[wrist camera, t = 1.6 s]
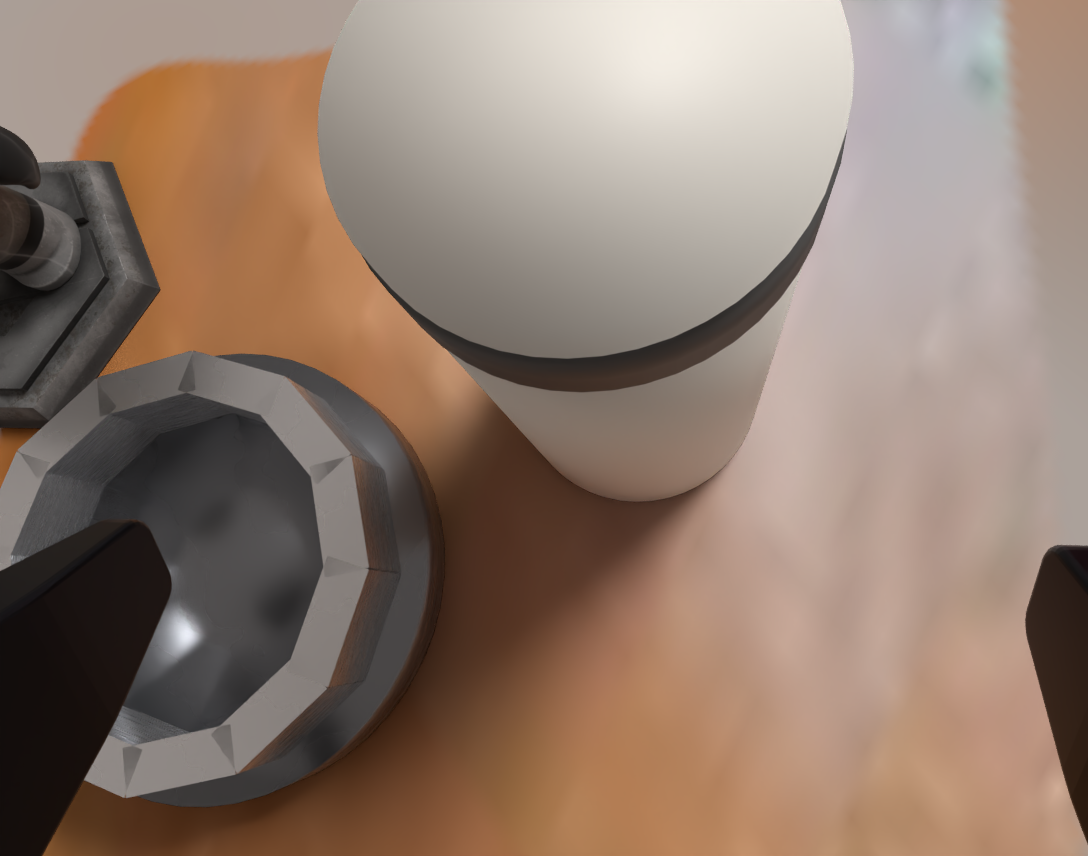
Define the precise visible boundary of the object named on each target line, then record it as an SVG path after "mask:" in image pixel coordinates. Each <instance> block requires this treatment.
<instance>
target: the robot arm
mask: <svg viewBox="0 0 1088 856" xmlns="http://www.w3.org/2000/svg"><path fill="white" fill-rule="evenodd" d="M171 590H172V579H171V575H170V572H169V569H168V567H167V565H166V563H165V561H164V558H163V556H162V554H161V552H160V550H159V547H158V545H157V543H156V541H155V539H154V536H153V534H152V532H151V530H150V528H149V527H148V526H147V525H146V524H145V523H144V522H143V521H139V520H136V519H105V520H101V521H99V522H97V523H95V524H93V525H91V526H89V527H87V528H85V529H83V530H81V531H79V532H77V533H75V534H73V535H71V536H69V537H67V538H65V539H63V540H61V541H59V542H57V543H55V544H53V545H51V546H49V547H47V548H45V549H43V550H41V551H39V552H37V553H35V554H33V555H31V556H29V557H27V558H25V559H23V560H21V561H19V562H17V563H15V564H13V565H11V566H9V567H7V568H5V569H3V570H1V571H0V856H42V855H43V853H44V852H45V850H46V848H47V846H48V844H49V843H50V841H51V839H52V837H53V835H54V834H55V832H56V830H57V828H58V826H59V824H60V823H61V821H62V819H63V817H64V815H65V814H66V812H67V810H68V808H69V806H70V804H71V803H72V801H73V799H74V797H75V795H76V794H77V792H78V790H79V788H80V786H81V785H82V783H83V781H84V779H85V777H86V775H87V774H88V772H89V770H90V768H91V766H92V765H93V763H94V761H95V759H96V757H97V755H98V754H99V752H100V750H101V748H102V746H103V745H104V743H105V741H106V739H107V737H108V735H109V733H110V731H111V729H112V727H113V725H114V724H115V722H116V719H117V717H118V715H119V713H120V711H121V709H122V706H123V704H124V702H125V700H126V697H127V695H128V693H129V691H130V688H131V686H132V684H133V681H134V679H135V677H136V674H137V672H138V670H139V667H140V665H141V663H142V661H143V658H144V656H145V654H146V651H147V649H148V647H149V644H150V642H151V640H152V637H153V635H154V633H155V631H156V628H157V626H158V624H159V621H160V619H161V617H162V614H163V612H164V610H165V607H166V605H167V603H168V601H169V598H170V595H171ZM1025 626H1026V635H1027V640H1028V644H1029V647H1030V651H1031V655H1032V659H1033V662H1034V666H1035V670H1036V674H1037V677H1038V681H1039V685H1040V689H1041V692H1042V696H1043V700H1044V704H1045V707H1046V711H1047V715H1048V719H1049V722H1050V726H1051V730H1052V734H1053V737H1054V741H1055V745H1056V749H1057V752H1058V756H1059V760H1060V764H1061V767H1062V771H1063V774H1064V778H1065V781H1066V785H1067V788H1068V791H1069V795H1070V798H1071V801H1072V804H1073V806H1074V809H1075V812H1076V815H1077V817H1078V820H1079V823H1080V826H1081V828H1082V831H1083V833H1084V836H1085V838H1086V841H1087V843H1088V546H1080V545H1056V546H1053V547H1051V548H1050V549H1048V551H1047V552H1046V553H1045V555H1044V557H1043V559H1042V562H1041V566H1040V569H1039V572H1038V575H1037V579H1036V582H1035V585H1034V588H1033V591H1032V595H1031V598H1030V601H1029V604H1028V608H1027V612H1026V619H1025Z"/></svg>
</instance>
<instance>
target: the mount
mask: <svg viewBox="0 0 1088 856" xmlns="http://www.w3.org/2000/svg"><path fill="white" fill-rule="evenodd" d="M18 451H19V452H16V454H15V457H14V459H13V461H12V463H11V466H10V468H9V470H8V473H7V475H6V477H5V480H4V482H3V484H2V487H1V489H0V571H1V570H3V569H5V568H7V567H9V566H11V565H13V564H15V563H17V562H19V561H21V560H23V559H25V558H27V557H29V556H31V555H33V554H35V553H37V552H39V551H41V550H43V549H45V548H47V547H49V546H51V545H53V544H55V543H57V542H59V541H61V540H63V539H65V538H67V537H69V536H71V535H73V534H75V533H77V532H79V531H81V530H83V529H85V528H87V527H89V526H91V525H93V524H95V523H97V522H99V521H101V520H105V519H136V520H139V521H143V522H144V523H145V524H146V525H147V526H148V527H149V528H150V530H151V532H152V534H153V536H154V539H155V541H156V543H157V545H158V547H159V550H160V552H161V554H162V556H163V558H164V561H165V563H166V565H167V567H168V569H169V572H170V575H171V579H172V590H171V595H170V598H169V601H168V603H167V605H166V607H165V610H164V612H163V614H162V617H161V619H160V621H159V624H158V626H157V628H156V631H155V633H154V635H153V637H152V640H151V642H150V644H149V647H148V649H147V651H146V654H145V656H144V658H143V661H142V663H141V665H140V667H139V670H138V672H137V674H136V677H135V679H134V681H133V684H132V686H131V688H130V691H129V693H128V695H127V697H126V700H125V702H124V704H123V706H122V709H121V711H120V713H119V715H118V717H117V719H116V722H115V724H114V725H113V727H112V729H111V731H110V733H109V735H108V737H107V739H106V741H105V743H104V745H103V746H102V748H101V750H100V752H99V754H98V755H97V757H96V759H95V761H94V763H93V765H92V766H91V768H90V770H89V772H88V774H87V775H86V777H85V779H84V780H85V781H87V782H90V783H92V784H94V785H96V786H99V787H101V788H103V789H105V790H107V791H110V792H112V793H114V794H116V795H119V796H121V797H123V798H129V797H134V796H138V797H141V798H144V799H146V800H149V801H152V802H158V803H163V804H169V805H174V806H180V807H213V806H220V805H228V804H235V803H240V802H243V801H247V800H250V799H253V798H257V797H260V796H264V795H267V794H269V793H271V792H274V791H276V790H279V789H281V788H283V787H286V786H288V785H290V784H293V783H295V782H298V781H300V780H302V779H304V778H306V777H309V776H311V775H313V774H315V773H317V772H320V771H322V770H324V769H325V768H327V767H328V766H330V765H332V764H333V763H335V762H336V761H338V760H340V759H341V758H343V757H344V756H346V755H347V754H349V753H350V752H351V751H352V750H353V749H355V748H356V747H357V746H358V745H359V744H361V743H362V742H363V741H364V740H365V739H367V738H368V737H369V736H370V735H371V734H372V733H373V732H374V731H375V730H376V729H377V727H378V726H379V725H380V724H381V723H382V722H383V721H384V720H385V719H386V718H387V717H388V716H389V715H390V713H391V712H392V710H393V709H394V708H395V706H396V705H397V704H398V702H399V701H400V699H401V698H402V697H403V695H404V694H405V692H406V691H407V690H408V688H409V686H410V684H411V682H412V680H413V679H414V677H415V675H416V673H417V671H418V669H419V668H420V666H421V664H422V662H423V659H424V657H425V654H426V651H427V649H428V646H429V644H430V641H431V639H432V636H433V633H434V629H435V625H436V622H437V618H438V614H439V610H440V606H441V599H442V591H443V584H444V565H445V547H444V539H443V530H442V522H441V517H440V513H439V509H438V505H437V501H436V497H435V494H434V491H433V489H432V486H431V484H430V481H429V478H428V476H427V473H426V471H425V469H424V467H423V465H422V463H421V462H420V460H419V458H418V456H417V455H416V453H415V451H414V449H413V447H412V446H411V445H410V443H409V442H408V441H407V440H406V438H405V437H404V436H403V434H402V433H401V432H400V430H399V429H398V428H397V427H396V426H395V425H394V424H393V423H392V422H391V421H390V420H389V419H388V418H387V417H386V416H385V415H384V414H383V413H382V412H381V411H380V410H379V409H378V408H376V407H375V406H373V405H372V404H371V403H369V402H368V401H367V400H365V399H364V398H362V397H361V396H360V395H358V394H357V393H355V392H354V391H352V390H351V389H349V388H348V387H346V386H345V385H343V384H342V383H340V382H339V381H337V380H336V379H334V378H332V377H330V376H328V375H326V374H324V373H322V372H320V371H319V370H317V369H315V368H312V367H309V366H307V365H304V364H301V363H298V362H295V361H292V360H289V359H283V358H278V357H273V356H268V355H255V354H232V355H220V356H211V355H207V354H204V353H200V352H196V351H189V352H185V353H182V354H178V355H175V356H171V357H168V358H164V359H161V360H157V361H154V362H150V363H147V364H143V365H140V366H136V367H133V368H129V369H126V370H122V371H119V372H115V373H112V374H108V375H105V376H101V377H98V378H97V379H94V380H93V381H92V382H91V383H90V384H89V385H88V386H87V387H86V388H85V389H84V390H82V391H81V392H80V393H79V394H78V395H77V396H76V397H75V398H74V399H73V400H72V401H71V402H69V403H68V404H67V405H66V406H65V407H64V408H63V409H62V410H61V411H60V412H59V413H57V414H56V415H55V416H54V417H53V418H52V419H51V420H50V421H49V422H48V423H47V424H45V425H44V426H43V427H42V428H41V429H40V430H39V431H38V432H37V433H36V434H35V435H34V436H32V437H31V438H30V439H29V440H28V441H27V442H26V443H25V444H24V445H23V446H22V447H20V448H19V449H18Z"/></svg>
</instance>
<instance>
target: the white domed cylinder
mask: <svg viewBox="0 0 1088 856" xmlns="http://www.w3.org/2000/svg"><path fill="white" fill-rule="evenodd" d="M853 71H854V62H853V55H852V47H851V39H850V32H849V28H848V25H847V21H846V18H845V15H844V11H843V8H842V5H841V1H840V0H358V2H357V4H356V5H355V7H354V9H353V10H352V12H351V13H350V15H349V16H348V18H347V20H346V22H345V24H344V26H343V28H342V30H341V33H340V35H339V37H338V39H337V41H336V43H335V45H334V48H333V51H332V54H331V57H330V60H329V63H328V66H327V69H326V72H325V76H324V81H323V86H322V92H321V97H320V102H319V116H318V144H319V155H320V164H321V168H322V172H323V177H324V181H325V185H326V189H327V192H328V195H329V197H330V200H331V202H332V205H333V207H334V210H335V212H336V215H337V217H338V219H339V221H340V223H341V224H342V226H343V228H344V229H345V231H346V233H347V235H348V236H349V238H350V240H351V241H352V243H353V245H354V246H355V247H356V248H357V249H358V251H359V252H360V253H361V255H362V256H363V258H364V260H365V261H366V263H367V265H368V266H369V268H370V270H371V271H372V272H373V273H374V275H375V276H376V277H377V278H378V279H379V281H380V282H381V283H382V284H383V286H384V287H385V288H386V289H387V291H388V292H389V293H390V294H391V295H392V296H393V297H394V298H395V299H396V300H397V302H398V303H399V304H400V305H401V306H402V307H403V308H404V309H405V310H406V311H407V312H408V313H409V315H410V316H411V317H412V318H413V319H414V320H415V321H416V322H417V323H418V324H419V325H420V326H421V327H422V328H423V329H424V330H425V331H426V332H427V333H428V334H429V335H430V336H431V337H432V338H433V339H435V340H436V341H437V342H438V343H439V344H440V345H441V346H442V347H444V348H445V349H447V351H448V352H449V353H450V354H451V355H452V356H453V357H454V358H455V359H456V360H457V362H458V363H459V364H460V365H461V366H462V367H463V368H464V369H465V370H466V371H467V373H468V374H469V375H470V376H471V377H472V378H473V379H474V380H475V381H476V382H477V384H478V385H479V386H480V387H481V388H482V389H483V390H484V391H485V392H486V393H487V395H488V396H489V397H490V398H491V399H492V400H493V401H494V402H495V403H496V405H497V406H498V407H499V408H500V409H501V410H502V411H503V412H504V413H505V414H506V416H507V417H508V418H509V419H510V420H511V421H512V422H513V423H514V424H515V425H516V427H517V428H518V429H519V430H520V431H521V432H522V433H523V434H524V435H525V436H526V438H527V439H528V440H529V441H530V442H531V443H532V444H533V445H534V446H535V447H536V449H537V450H538V451H539V452H540V453H541V454H542V455H543V456H544V457H545V459H546V460H547V461H548V462H549V463H550V464H551V465H552V466H553V467H554V468H555V469H556V470H557V471H558V472H559V473H560V474H562V475H563V476H564V477H565V478H567V479H568V480H570V481H571V482H572V483H574V484H575V485H577V486H579V487H581V488H583V489H585V490H587V491H589V492H591V493H594V494H597V495H599V496H602V497H606V498H610V499H615V500H619V501H631V502H643V501H655V500H660V499H666V498H670V497H673V496H676V495H679V494H682V493H684V492H687V491H689V490H691V489H693V488H695V487H697V486H699V485H700V484H702V483H704V482H705V481H707V480H708V479H710V478H711V477H712V476H714V475H715V474H716V473H717V472H718V471H720V470H721V469H722V468H723V467H724V466H725V465H726V464H727V463H728V462H729V460H730V459H731V458H732V457H733V456H734V455H735V453H736V452H737V450H738V449H739V447H740V446H741V445H742V443H743V441H744V439H745V437H746V435H747V433H748V431H749V429H750V426H751V423H752V420H753V418H754V415H755V412H756V408H757V405H758V402H759V399H760V396H761V393H762V390H763V387H764V384H765V381H766V378H767V374H768V371H769V368H770V365H771V362H772V359H773V356H774V353H775V350H776V347H777V344H778V340H779V337H780V334H781V331H782V328H783V325H784V322H785V319H786V316H787V313H788V310H789V306H790V303H791V300H792V297H793V294H794V291H795V288H796V285H797V282H798V279H799V276H800V272H801V269H802V266H803V263H804V262H805V260H806V258H807V256H808V254H809V252H810V250H811V248H812V246H813V244H814V241H815V238H816V235H817V232H818V229H819V226H820V224H821V221H822V218H823V215H824V212H825V209H826V206H827V203H828V200H829V197H830V194H831V191H832V188H833V185H834V182H835V179H836V176H837V173H838V170H839V167H840V164H841V159H842V154H843V149H844V143H845V138H846V133H847V125H848V119H849V114H850V109H851V103H852V98H853Z"/></svg>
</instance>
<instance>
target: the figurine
mask: <svg viewBox="0 0 1088 856" xmlns="http://www.w3.org/2000/svg"><path fill="white" fill-rule="evenodd" d="M159 291H160V287H159V285H158V282H157V279H156V277H155V274H154V271H153V269H152V266H151V263H150V261H149V258H148V255H147V253H146V250H145V247H144V245H143V242H142V239H141V237H140V234H139V231H138V229H137V226H136V224H135V221H134V218H133V216H132V213H131V210H130V208H129V205H128V202H127V200H126V197H125V194H124V192H123V189H122V186H121V184H120V181H119V178H118V176H117V173H116V170H115V168H114V165H113V163H112V162H102V161H65V162H45V163H37V160H36V158H35V156H34V154H33V152H32V151H31V149H30V148H29V147H28V145H27V144H26V143H25V142H24V141H23V140H22V139H20V138H19V137H18V136H17V135H15V134H14V133H12V132H10V131H9V130H7V129H5V128H3V127H1V126H0V427H2V428H42V427H43V426H44V425H45V424H47V423H48V422H49V421H50V420H51V419H52V418H53V417H54V416H55V415H56V414H57V413H59V412H60V411H61V410H62V409H63V408H64V407H65V406H66V405H67V404H68V403H69V402H71V401H72V400H73V399H74V398H75V397H76V396H77V395H78V394H79V393H80V392H81V391H82V390H84V389H85V388H86V387H87V386H88V385H89V384H90V383H91V382H92V381H93V380H94V379H96V378H97V377H98V375H99V374H100V373H101V371H102V370H103V368H104V367H105V366H106V364H107V363H108V361H109V360H110V359H111V357H112V356H113V355H114V353H115V352H116V350H117V349H118V348H119V346H120V345H121V344H122V342H123V341H124V339H125V338H126V337H127V335H128V334H129V332H130V331H131V330H132V328H133V327H134V326H135V324H136V323H137V321H138V320H139V319H140V317H141V316H142V314H143V313H144V312H145V310H146V309H147V308H148V306H149V305H150V303H151V302H152V301H153V299H154V298H155V296H156V295H157V294H158V292H159Z"/></svg>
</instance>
